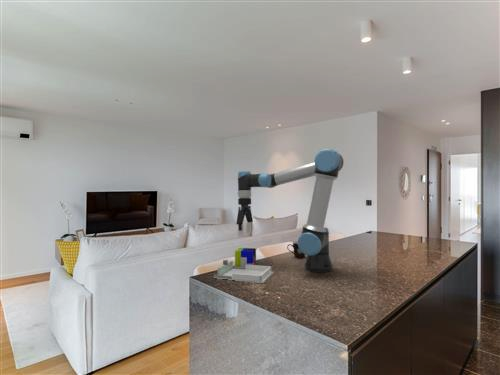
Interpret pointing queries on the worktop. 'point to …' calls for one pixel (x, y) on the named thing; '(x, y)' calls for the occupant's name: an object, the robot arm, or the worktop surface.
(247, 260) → the puzzle toy
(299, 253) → the coffee mug
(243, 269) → the housing
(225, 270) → the gate
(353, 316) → the worktop surface
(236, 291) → the worktop surface
